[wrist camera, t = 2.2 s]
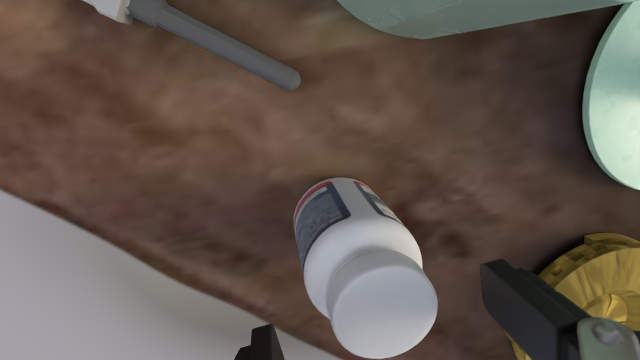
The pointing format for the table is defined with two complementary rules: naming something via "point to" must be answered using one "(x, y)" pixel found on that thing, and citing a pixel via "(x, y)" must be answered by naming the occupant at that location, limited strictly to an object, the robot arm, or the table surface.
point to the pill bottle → (363, 269)
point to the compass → (598, 279)
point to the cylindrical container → (459, 14)
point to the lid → (616, 98)
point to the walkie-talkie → (199, 37)
